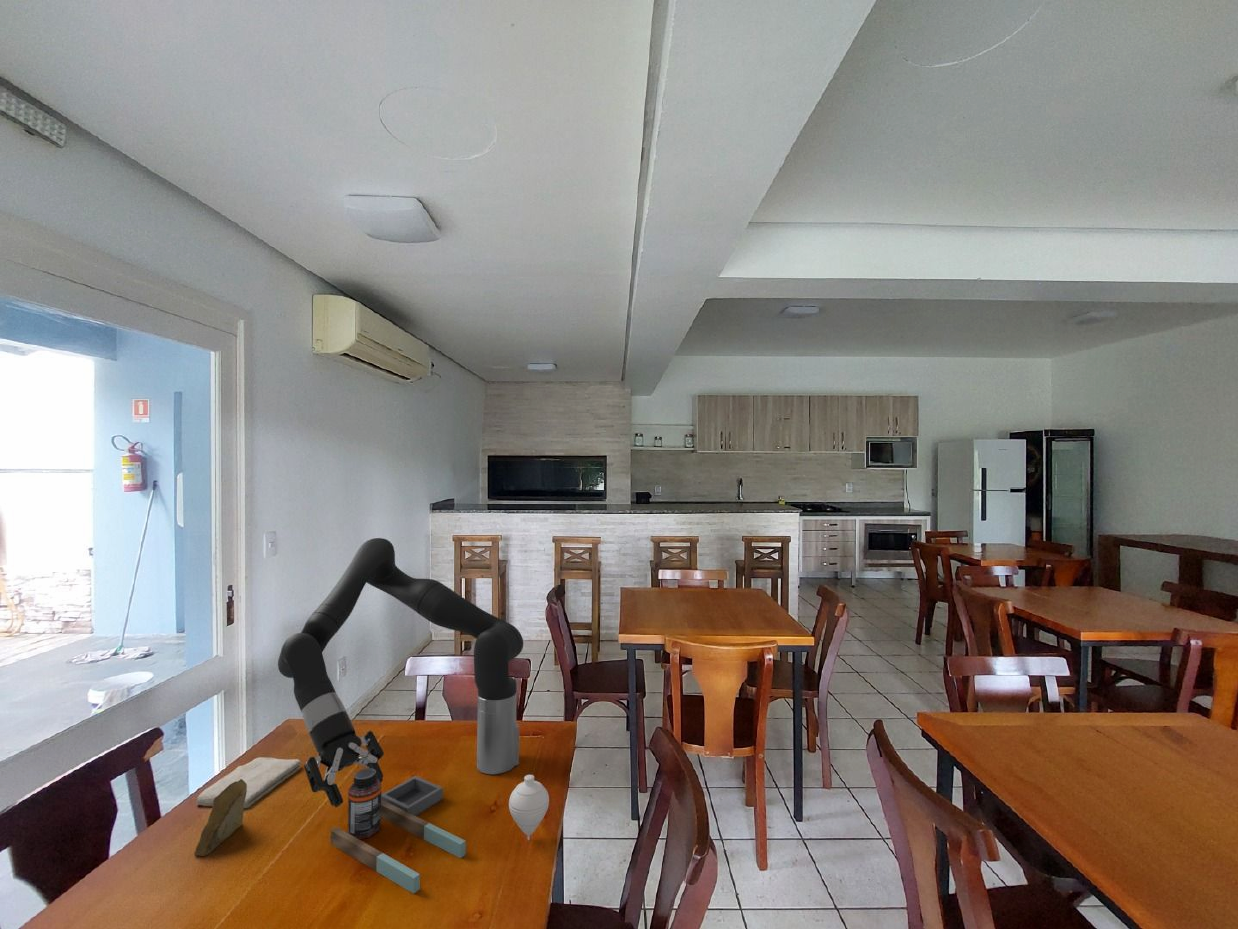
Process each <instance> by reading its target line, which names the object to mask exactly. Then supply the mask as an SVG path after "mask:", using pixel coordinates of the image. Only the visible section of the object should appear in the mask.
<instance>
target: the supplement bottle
mask: <svg viewBox="0 0 1238 929" xmlns="http://www.w3.org/2000/svg"><path fill="white" fill-rule="evenodd" d="M347 794H348V796H347V798H348V800H347V805H348V806H347V833H348V834H350V835H352V836H354V837H356V838H357V839H359V840H363V839H368V838H370V837H372V836H373V835H375V834H376V833H377V832H378V831H379V830H380V829H381V826H382V825H381V824H382V818H381V794H382V782H380V781H379V780H378V779H376V770H375V769H372V768H367V767H366V768H362V769H360V770H357V772H355V773H354V774H353V783H352V784H351V786H350V787H349V788H348V793H347Z"/></svg>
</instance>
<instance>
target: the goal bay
mask: <svg viewBox="0 0 1238 929" xmlns="http://www.w3.org/2000/svg"><path fill="white" fill-rule="evenodd" d="M423 840H424V841H426V842H428V843H430V844H431V845H433V846H435V847H437V848H440V849H441V850H444V851H446V852H448V853H449V854H451V855H453V856H455V857H456V858H459V859H461V858H464V857H465V855H466V849H467V848H466V847H467V846H466V845H467V844H466V840H465V839H462V838H461V837H458V836H456V835H454V834H453V833H450V832H448V831H446V830H444V829H442V828H440V827H438V826H436V825H434V824H432V823H430V822H428V824H427V825H425V826H424V839H423ZM375 872H376V873H378V874H380V875H382V876H384V877H385V878H387V879H388V880H390V881H391V882H393V883H396V884H397V885H398V886H399V887H401V888H404V889H405V890H406V891H409V892H410V893H412V894H415V893H417V892H418V891H420V887H421V886H420V880H421V873H418V872H417V871H415V870H413V869H412V868H410V867H409V866H406V865H404V864H402V863H401V862H399V861H398V860H395V859H394V858H393V857H391V856H389V855H387V854H385V853H383V852H382V854H380V855H379V856H377V864H376V871H375Z"/></svg>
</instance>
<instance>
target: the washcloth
mask: <svg viewBox="0 0 1238 929" xmlns="http://www.w3.org/2000/svg"><path fill="white" fill-rule="evenodd" d="M301 763H302V761H301V760H300V759H298V758H296V759H294V758H293V759H280V758H276V757H275V758H274V757H271V756H270V757H261V756H260V757H256V758H254V759H252V761H250V762H248V763H245V764H244V765H238V766H237V767H236V768H235V769H234V770H233V771H231V772H229V773H228V774H226V775H225V776H223V777H221V778H220V779H219V780H217V781H216V782H215V783H213V784H212V785H210V786H208V787H207V788H205V789H204V790H202V791H201V793H200V794H199V795H198V797H197V798H196V800H195V804H197V805H199V806H201V805H202V806H204V807H213V800H214V798H215V797H217V796H218V795H219V794H220V793H221V792H222V791H223V790H225V788H226V787H228V786H229V785H230V784H232V783H233V782H235V781H239V780H240V779H242V780H243V781H244V782H245V783H246V784H247V792H246V798H245V802H244V807H243V810H244V809H248V808H250V807H251V806H252V805H254V804H255V803H256V802H257V801H259V800H260V799H261V798H263V797H265V795H267V794H268V793H270V792H271V791H272V790H273V789H275V788H276V787H278V786H279V784H281V783H282V782H284V781H285V780H287V779H288V778H289V777H291V776H293V774H295V773H296V772H297V771H299V770H300V769H301V768H302V766H301V765H300V764H301Z"/></svg>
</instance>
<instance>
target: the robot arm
mask: <svg viewBox="0 0 1238 929" xmlns="http://www.w3.org/2000/svg"><path fill="white" fill-rule="evenodd" d="M366 584H368V585H370V586H372V587H374V588H376V589H378V590H379V591H383V593H386V594H388V595H390V596H392V597H393V598H395V599H396V600H397V601H399V602H401V603H402V604H404V606H407V607H408V608H410V609H411V610H413V611H414V612H415V613H417V614H418V615H419V616H421V617H423V618H424V619H425V620H427V621H428V622H430V623H432V624H434V625H435V626H437V627H441V628H444V629H449V630H453V631H457V632H460V633H463V634H467V635H469V636H471V637H473V638H474V639H476V640H475V642H474V648H473V668H474V669H473V671H474V683H475V686H476V688H477V725H476V726H477V727H476V728H477V730H476V731H477V732H476V734H477V735H476V738H477V739H476V769H477V770H478V771H479V772H480V773H483V774H486V775H499V774H504V773H506V772H509V771H510V770H513V768H515V766H519V764H520V759H519V758H520V724H519V723H518V722H517V690H518V689H517V688H518V687H517V681H516V679H515V678H514V677H512V676H510V674H509V673H510V671H509V662H511V661H513V660H514V659H515V658H517V657H518V656H519V655H520V654H521V652H522V651H523V648H524V639H523V635H522V634H521V632H520V631H519V629H518V628H517V627H516V626H514V625H512V624H511V623H509V622H507V621H505V620H504V619H502V618H499V617H497V616H496V615H493V614H491V613H490V612H487V611H485V610H483V609H482V608H480V607H478V606H477V605H476V604H474V603H472V602H471V601H469V600H468V599H466V598H464V597H463V596H461V595H459V593H458V592H456V591H454V590H452V589H451V588H449V587H448V586H446V585H445V584H444V583H441V582H440V581H438V580H436V579H432V578H415V577H412V576H410V575H409V574H407V573H405V572H404V571H403V570H401V569H400V568H399V567H398V566H397V564H396V552H395V548H394V545H393V544H392V542H391V541H390V540H388V539H387V538H383V537H382V538H381V537H374V538H371V539H368V540H367V541H366V540H365V542H363V543H362V544H361V545H360V547H359V548H358V549H357V551H356V552H355V554H354V557H353V558H352V560H351V561H350V563H349V565H348V566H347V568H346V569H345V571H344V572H343V574H342V575H341V577H340V578H339V580H338V582H336V585H335V586H334V587H333V588H332V590H331V591H330V593H329V594H328V595H327V596H326V597H325V598H324V599H323V601H322V602H321V603H320V604H319V606H317V608H316V609H315V610H314V611H313V612H312V614H311V615H310V616H309V617H308V618H307V620H306V622H305V624H304V626H303V627H302V629H301V631H300V632H299V633H295V634H291V636H289V637H288V638H287V639H286V640H285V641H284V643H283V644H282V646H281V650H280V652H279V657H278V661H277V667H278V671H279V672H280V674H281V675H283V677H285V678H288V679H292V680H293V694H294V698H295V700H296V703H297V705H298V708H299V710H300V713H301V714H302V715H301V716H302V718H303V723H304V725H305V727H306V730H307V732H308V735H309V736H310V739H311V742H312V744H313V746H314V749H315V751H316V752H317V753H318V756H311V757H309V758H308V759H307V760H306V762H305V764H304V765H303V768H304V771H305V774H306V777H307V780H308V782H309V786H310V789H311V792H313V793H317V792H321V791H324V792H325V794H326V796H327V798H328V801H329V803H330V805H331V806H332V807H335V808H338V807H341V805H342V804H344V798H343V796H342V794H341V791H340V788H339V787H338V784H337V783H335V780H336V776H337V772H340V771H343V770H344V769H345V768H348V767H351V766H352V765H354V764H355V765H358V766H363V767H365V768H366V769H367V768H372V769H375V770H376V779H378V780H379V781H380V782H381V783H382V782H383V780H384V779H383V778H384V773H383V772H382V769H381V766H380V765H379V760H380V759H381V758H382V757H383V756H384V755H385V753H384V750H383V749H382V747H381V745H380V743H379V741H378V740H377V738H376V735H375V734H374V732H373V731H372V730H369V731H368V732H367V733H366V734H364V735H363V736H360V737H359V736H358V735H357V734H356V730H355V727H354V725H353V722H352V720H351V719H350V716H349V713H348V711H347V709H346V707H345V705H344V703H343V702H342V700H341V698H340V697H339V695H338V694H337V691H336V690H335V689H336V688H335V687H334V686H333V683H332V681H331V679H330V677H329V675H328V672H327V667H326V663H325V659H324V655H323V652H324V650H325V648H326V647H327V646H328V644H329V642H330V641H331V639H332V638H333V637H334V636H335V635H336V634H337V633H338V632H339V630H340V629H341V627H343V625H344V624H345V623H346V621H347V620H348V618H349V617H350V616H351V615H352V612H353V611H354V608H355V606H356V604H357V602H358V600H359V598H360V595H361V593H362V591H363V589H364V587H365V585H366ZM361 746H363V747H366V749H367V750H366V749H364V748H362V747H361ZM320 764H321V765H322V766H325V767H326V770H325V773H324V778H323V777H322V774H321V770H320V769H319V767H320ZM323 779H324V780H323Z"/></svg>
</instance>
